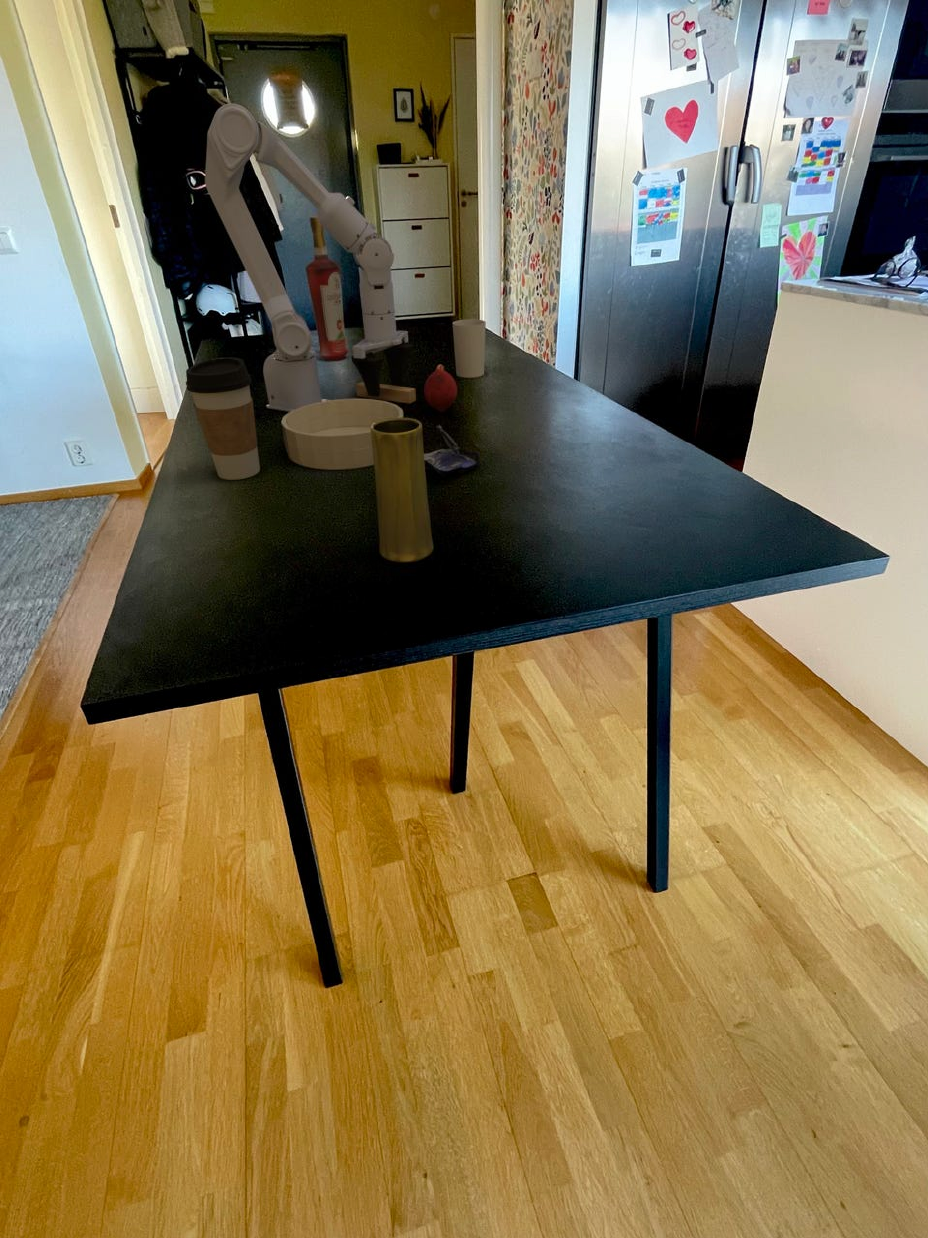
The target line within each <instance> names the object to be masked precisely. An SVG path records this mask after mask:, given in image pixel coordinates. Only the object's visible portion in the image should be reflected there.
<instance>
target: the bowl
mask: <svg viewBox="0 0 928 1238" xmlns="http://www.w3.org/2000/svg"><path fill="white" fill-rule="evenodd" d="M329 400H330V401H323V402H317V403H313V404H309V405H305V406H302V407H300V408H297V409H295V410H292V411H290V412H287V413H286V414H285V415H283V417H282V420H281V422H280V424H281V430H282V435H283V441H284V447H285V451H286V453H287V457H288V458H289V460H290V461H292V462H293V463H295V464H297V465H299V466H302V467H306V468H311V469H318V470H328V471H329V470H331V471H334V470H335V471H336V470H337V471H339V470H352V469H360V468H366V467H371V466H374V458H373V447H372V438H371V425H372V424H373V423H375V422H377V421H379V420H383V419H388V418H405V417H404V411H403V410H404V409H402V407H400V406H399V405H398V404H395V403H392V402H389V401H387V400H381V399H375V398H339V399H329Z"/></svg>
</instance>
